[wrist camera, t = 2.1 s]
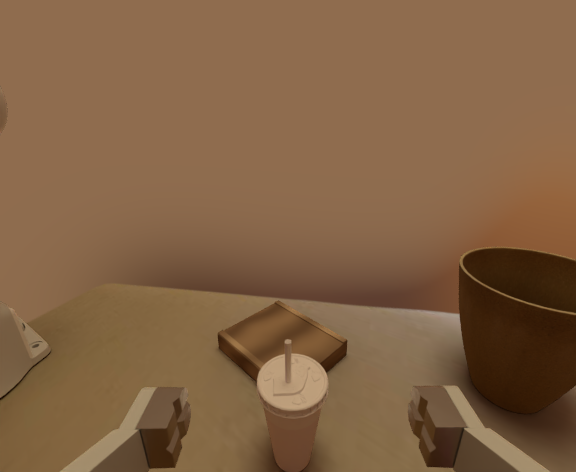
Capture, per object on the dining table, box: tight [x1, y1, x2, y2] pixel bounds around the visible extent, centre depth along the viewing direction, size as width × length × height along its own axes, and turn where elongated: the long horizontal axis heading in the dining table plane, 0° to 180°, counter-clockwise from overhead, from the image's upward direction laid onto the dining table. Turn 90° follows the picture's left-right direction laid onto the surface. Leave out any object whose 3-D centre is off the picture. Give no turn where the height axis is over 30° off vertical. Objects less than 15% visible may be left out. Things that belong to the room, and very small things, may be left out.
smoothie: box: [257, 339, 328, 472], centre depth 27 cm, size 6×6×14 cm
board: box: [218, 301, 347, 382], centre depth 43 cm, size 14×12×3 cm
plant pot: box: [459, 247, 576, 414], centre depth 34 cm, size 15×15×16 cm
